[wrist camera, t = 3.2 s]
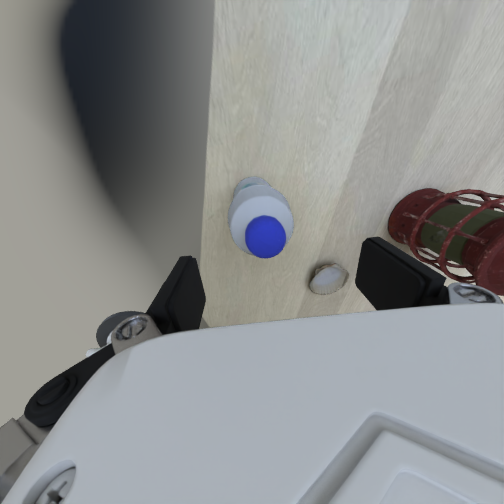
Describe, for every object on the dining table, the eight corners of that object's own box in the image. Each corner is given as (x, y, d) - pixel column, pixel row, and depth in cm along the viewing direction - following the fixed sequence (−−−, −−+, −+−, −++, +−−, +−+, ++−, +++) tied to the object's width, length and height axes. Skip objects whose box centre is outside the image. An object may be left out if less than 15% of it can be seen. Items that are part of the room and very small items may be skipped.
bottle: (280, 198, 33) (326, 248, 15) (249, 222, 35) (258, 292, 17) (256, 164, 30) (277, 177, 13) (224, 192, 32) (203, 238, 14)
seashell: (309, 287, 44) (347, 285, 42) (311, 298, 42) (351, 296, 40) (306, 261, 39) (348, 256, 37) (307, 271, 37) (353, 267, 35)
